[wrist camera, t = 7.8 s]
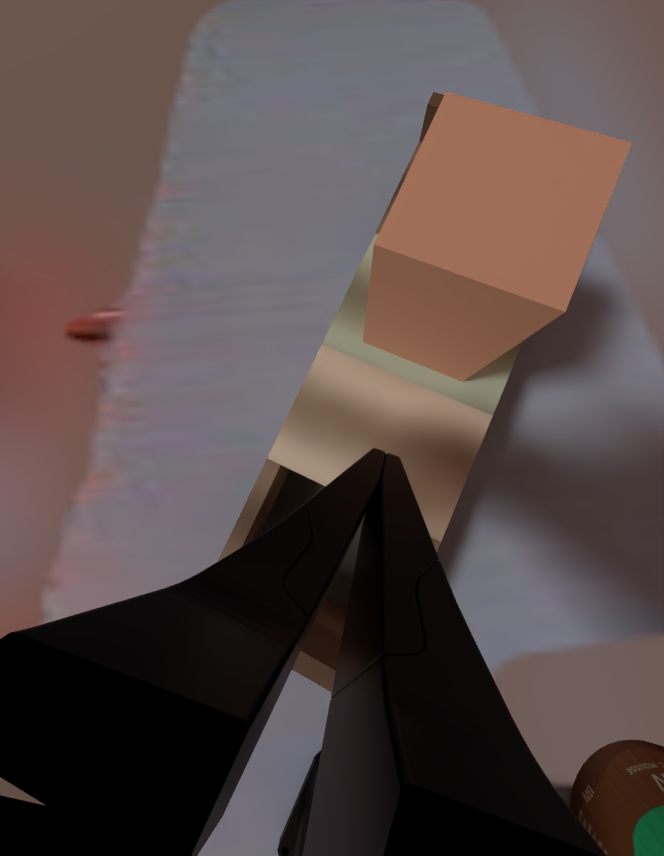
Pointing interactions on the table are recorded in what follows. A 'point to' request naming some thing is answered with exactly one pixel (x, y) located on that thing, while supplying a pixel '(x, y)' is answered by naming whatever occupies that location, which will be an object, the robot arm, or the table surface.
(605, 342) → the table surface
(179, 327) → the table surface
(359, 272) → the track
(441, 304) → the terracotta block
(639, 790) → the food container
